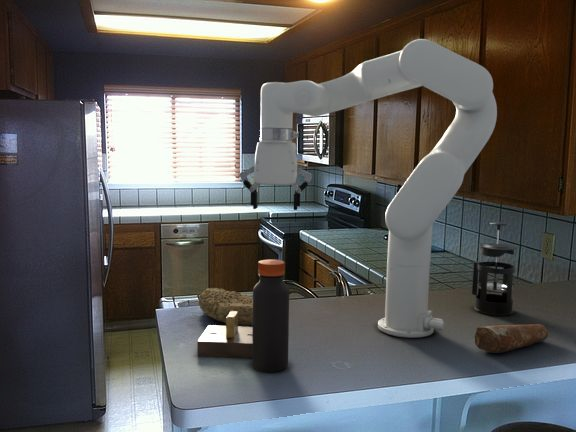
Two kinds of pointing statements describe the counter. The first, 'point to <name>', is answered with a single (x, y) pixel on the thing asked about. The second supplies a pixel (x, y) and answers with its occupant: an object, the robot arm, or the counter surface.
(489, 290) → the french press
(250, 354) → the lock plate
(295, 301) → the counter surface
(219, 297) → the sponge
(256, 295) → the bottle
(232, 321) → the thumbturn
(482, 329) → the bread
